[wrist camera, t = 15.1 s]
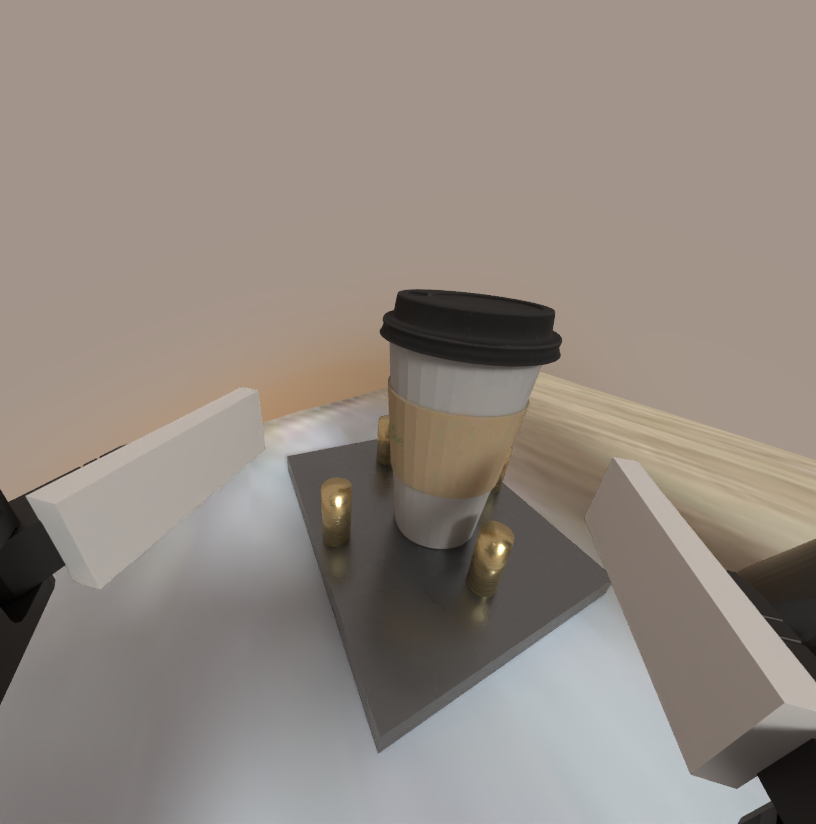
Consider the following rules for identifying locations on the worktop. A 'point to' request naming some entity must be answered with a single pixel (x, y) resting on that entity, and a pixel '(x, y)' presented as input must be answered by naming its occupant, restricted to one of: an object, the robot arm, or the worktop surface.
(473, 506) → the coffee cup
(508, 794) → the worktop surface
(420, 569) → the pin plate
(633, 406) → the worktop surface
